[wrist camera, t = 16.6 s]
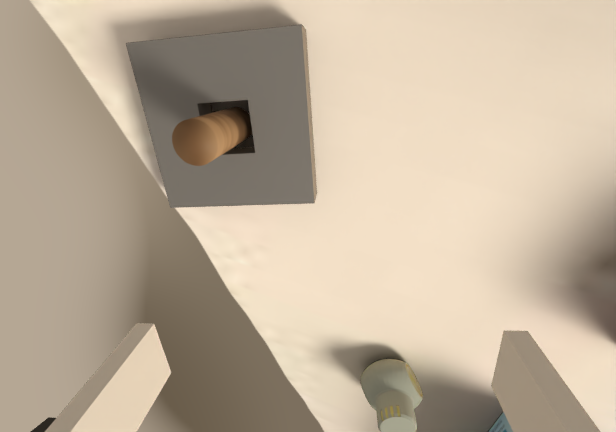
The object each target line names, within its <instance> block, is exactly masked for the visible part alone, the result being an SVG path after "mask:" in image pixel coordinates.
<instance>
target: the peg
mask: <svg viewBox="0 0 616 432" xmlns="http://www.w3.org/2000/svg"><path fill="white" fill-rule="evenodd" d="M251 134H252V126H251V119H250V115H249V113H248V112H247V111H245V110H244V109H242V108H239V107H232V108H228V109H225V110H221V111H217V112H213V113H209V114H206V115H202V116H198V117H194V118H191V119H187V120H183V121H181V122H180V123H179V124H177V126H176V127H175V129H174V131H173V134H172V143H173V147H174V149H175V151H176V153H177V155H178V156H179V157H180V158H181V159H182V160H183V161H185V162H186V163H188V164H191V165H194V166H202V165H206V164H208V163H209V162H211V161H213V160H214V159H216V158H217V157H219V156H221V155H222V154H224V153H225V152H227V151H228V150H230V149H232V148H233V147H235V146H236V145H238V144H240V143H241V142H243V141H244V140H246V139H248V138H249V137H250V135H251Z"/></svg>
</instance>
